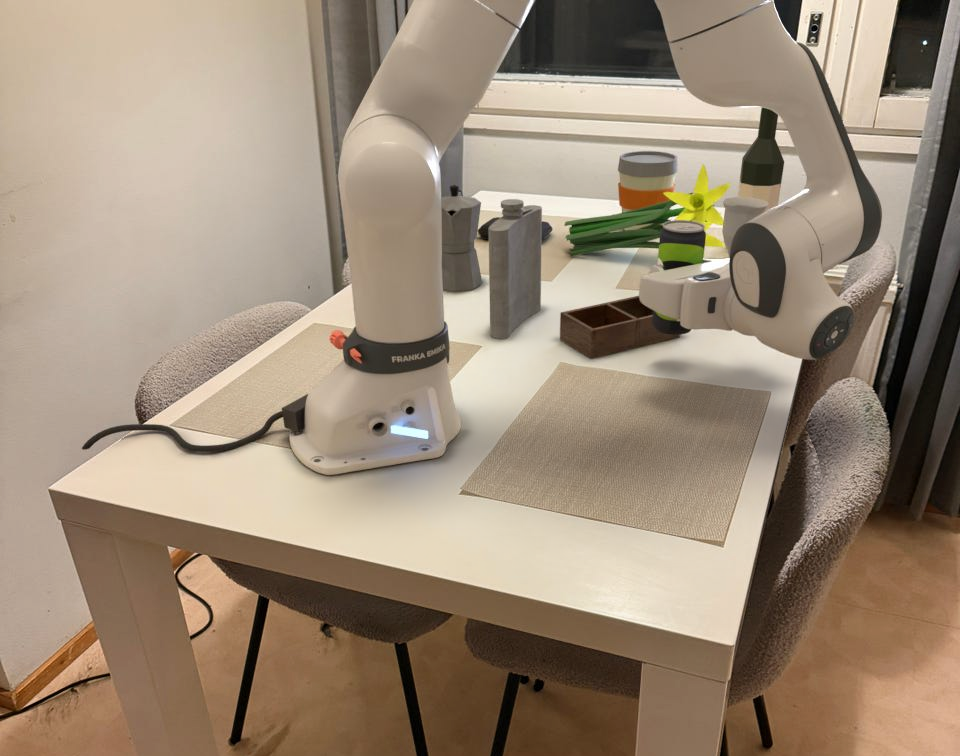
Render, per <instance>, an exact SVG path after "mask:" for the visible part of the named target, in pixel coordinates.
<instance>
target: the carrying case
mask: <svg viewBox="0 0 960 756" xmlns="http://www.w3.org/2000/svg"><path fill="white" fill-rule="evenodd" d="M501 217H502V216H498V217H497V216H495V217H492V218H491V219H489V220H488V221H486V222H485V223H483V224H482V225H480V227H478V232H477V235H479V236H480V237H481V239H483V240H489V234H488V228H489V227H490V226H491V225H492V224H493V223H494V222H495V221H496V220H498V219H499V218H501ZM551 233H553V227H552V225H551V224H550V223H549V222H548V221H544V220H542V240H541V242H542V241H543V240H545V238H547V237H548V236H549V235H550V234H551Z"/></svg>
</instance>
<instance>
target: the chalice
mask: <svg viewBox="0 0 960 756" xmlns="http://www.w3.org/2000/svg"><path fill="white" fill-rule="evenodd" d="M722 205H723V207H724V214H723V220H724V222H723V225H722V237H723V241H724V245H725V248H726V250H727V253H728V256H729V257H730V249H731V244H732V240H733V237H734V235H735V233H736V231H737V230H738V229H739V228H740V227H741V226H742V225H744V224H746V223H747V222H749V221H750V220H752V219H754V218H755V217H757V216H759V215H760V214H762V213H764V210H765V209H766V207H767V206H768V202H766V201H764V200H761V199H756V198H749V197H738V196H735V197H734V196H733V197H727V198H724V199H722Z"/></svg>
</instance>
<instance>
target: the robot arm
mask: <svg viewBox="0 0 960 756" xmlns="http://www.w3.org/2000/svg"><path fill="white" fill-rule="evenodd" d="M653 1H654V3H655V5H656V7H657V9H658V11H659V12H660V16H661V20H662V25H663V28H664V31H665V35H666V39H667V42H668V46H669V49H670V53H671V57H672V60H673V63H674V67H675V70H676V72H677V74H678V77H679V79H680V81H681V82H682V84H683V86H684V87H685V89H686V90H687V92H689V94H691V95H692V96H693V97H695V98H696V99H698V100H700V101H701V102H703V103H706V104H708V105H711V106H714V107H719V108H749V107H750V108H762V107H763V108H767V109H770V110H772V111H774V112H775V113H776V114H778V117H780V119H781V120H782V122H783V123H784V125H785V127H786V129H787V132H788V135H789V137H790V139H791V142H792V145H793V146H794V149H795V151H796V154H797V156H798V158H799V161H800V163H801V166H802V168H803V170H804V174H805V177H806V181H805V185H804V187H803V189H802V190H801V192H799V193H798V194H795V195H794V196H792V197H790V198H789V199H787V200H785V201H783V202H782V203H780V204H778V206H775V207H773V208H771V209H769V210H767V211H766V212H764V213H762V214H760V215H759V216H757V217H755V218H754V219H752V220H750V221H749V222H747V223H746V224H744V225H742V226H741V227H740V228H739V229H738V230H737V231H736V233H735V235H734V237H733V240H732V244H731V249H730V256H729V257H725V258H721V259H716V258H715V259H714V258H707V257H706V258H705V257H703V263H700V264H695V265H690V266H685V267H680V268H675V269H670V270H667V267H665V266H663V265H657V264H654V265H651V266H650V271H649V273H645V274H642V275H641V277H640V280H639V288H638V289H639V290H638V291H639V292H638V296H639V299H640V302H641V303H642V304H643V305H645V306H647V307H648V308H650V309H652V310H654V311H656V312H658V313H660V314H662V315H664V316H666V317H669V318H673V319H680V325H681V326H682V327H684V328H686V329H692V330H721V331H728V332H730V331H735V332H736V333H738V334H741V335H743V336H748V337H754V338H756V339H757V341H758V342H759V343H761V344H762V345H764V346H766V347H768V348H771V349H772V350H774V351H777V352H779V353H782V354H784V355H787V356H790V357H792V358H796V359H801V360H805V361H818V360H821V359H822V358H825V357H826V356H829V355H830V354H831V353H833V352H835V351H836V350H837V349H838V348H839V347H841V346H842V344H843V343H844V341H845V340H846V339H847V338H848V336H849V334H850V333H851V330H852V328H853V326H854V322H855V310H854V308H853V307H852V306H851V304H850V303H848V302H847V301H846V300H844V299H843V298H841V297H840V296H838V295H837V294H836V293H835V292H834V290H833V289H832V286H831V285H830V284H829V283H828V280H827V279H826V276H825V273H826V272H828V271H829V270H831V269H833V268H834V267H837V266H838V265H841V264H843V263H845V262H848V261H850V260H852V259H855V258H856V257H859V256H862V255H863V254H865V253H867V252H868V251H869V250H871V249H872V248H873V247H874V245H875V244H876V242H877V240H878V237H879V235H880V232H881V228H882V221H883V207H882V204H881V201H880V198H879V196H878V194H877V191H876V189H875V188H874V186H873V185H872V183H871V182H870V181H869V179H868V177H867V176H866V174H865V173H864V171H863V169H862V167H861V165H860V162H859V160H858V158H857V155H856V152H855V150H854V147H853V144H852V142H851V140H850V139H851V138H850V137H849V134H848V132H847V130H846V127H845V124H844V122H843V119H842V117H841V114H840V111H839V109H838V106H837V103H836V100H835V99H834V96H833V93H832V90H831V88H830V85H829V83H828V81H827V78H826V76H825V74H824V72H823V70H822V67H821V66H820V63H819V61H818V60H817V58H816V56H815V55H814V54H813V52H812V50H811V49H810V48H809V46H807V45H805V44H804V43H802V42H800V41H797V40H794V38H793V37H792V36H791V35H790V33H789V32H788V31H787V29H786V28H785V26H784V24H783V23H782V21H781V18H780V16H779V13H778V11H777V8H776V5H775V0H653ZM535 2H536V0H413V1H412V4H411V5H410V7H409V9H408V12H407V13H406V15H405V17H404V19H403V21H402V24H401V25H400V28H399V29H398V31H397V34H396V36H395V37H394V40H393V41H392V44H391V45H390V48H389V49H388V51H387V53H386V55H385V56H384V58H383V60H382V62H381V64H380V66H379V68H378V69H377V71H376V74H375V76H374V77H373V79H372V81H371V82H370V84H369V87H368V88H367V91H366V92H365V95H364V96H363V98H362V100H361V102H360V104H359V105H358V108H357V109H356V112H355V114H354V116H353V118H352V120H351V121H350V124H349V126H348V128H347V129H346V132H345V134H344V137H343V140H342V145H341V152H340V155H339V164H338V172H337V177H338V178H337V179H338V188H339V189H338V190H339V196H340V197H339V198H340V205H341V213H342V214H341V215H342V221H343V229H344V230H343V231H344V238H345V244H346V252H347V258H348V265H349V273H350V284H351V292H352V293H351V294H352V303H353V313H354V325H355V326H354V327H353V329H352V331H351V332H350V334H349V335H346V334H345V333H344V332H343V331H342V330H340V329H335V330H333V331H331V333H330V335H329V338H328V339H329V343H330V344H331V345H332V346H334V348H335V349H337V350H342V354H343V355H342V356H343V359H342V360H341V361H340V362H339V363H338V364H337V365H336V366H335V367H334V368H333V369H332V370H331V371H329V373H328V374H327V375H326V376H325V377H323V379H321V380H320V381H319V382H318V383H316V385H315V386H313V387H312V388H311V389H310V391H308V393H307V394H305V395H303V396H301V397H299V398H298V399H296V400H294V401H291V402H290V403H288V404H287V405H284V406H283V407H282V408H281V410H280V411H278V412H276V413H274V414H272V415H271V416H270V417H268V419H267V420H266V422H265V423H264V425H263V426H262V428H260V429H259V430H257V431H255V432H253V433H252V434H250V435H248V436H246V437H243V438H242V439H239V440H236V441H232V442H228V443H223V444H221V443H220V444H213V445H212V444H211V445H199V444H192V443H190V442H187V441H186V440H185V439H184V438H183V437H182V436H181V435H180V434H179V432H178V431H176V430H175V429H173V428H172V427H170V426H167V425H163V424H153V423H151V424H149V423H135V424H134V423H133V424H131V423H130V424H121V425H116V426H112V427H108V428H105V429H104V430H101V431H100V432H97V433H95V434H94V435H92V436H91V437H90V438H89V439H87V441H86V442H85V443H84V444H83V446H82V447H81V450H84V451H85V450H89V449H90V448H92V446H94V444H96V443H97V442H98V441H99V440H101V439H104V438H105V437H108V436H110V435H113V434H116V433H122V432H131V431H133V432H134V431H135V432H136V431H148V432H149V431H151V432H153V431H154V432H155V431H156V432H164V433H166V434H168V435H169V436H171V438H173V439H174V440H175V442H176V443H177V444H178V445H179V446H180V447H181V448H183V449H185V450H187V451H191V452H195V453H196V452H197V453H214V452H217V453H218V452H225V451H229V450H233V449H236V448H240V447H243V446H245V445H247V444H250V443H252V442H254V441H255V440H258V439H259V438H261V437H263V436H264V435H266V434H267V433H268V432H269V431H270V429H271V427H272V426H273V425H274V423H275V422H277V421H278V420H281V419H282V420H283V426H284V428H285V429H287V430H289V433H288V435H289V445H290V448H291V450H292V453H294V455H295V457H296V458H297V459H298V461H300V462H301V463H302V464H303V465H305V466H306V467H307V469H310V470H312V471H314V472H315V473H318V474H322V475H324V476H325V475H326V476H332V475H333V476H334V475H339V474H346V473H352V472H358V471H364V470H368V469H369V470H370V469H376V468H383V467H388V466H393V465H399V464H407V463H412V462H418V461H424V460H430V459H437V458H440V457H442V456H444V454H445V452H446V450H447V445H448V444H449V443H450V442H451V441H452V440H453V439H454V438H456V436H457V435H459V432H460V431H461V429H462V420H461V418H460V415H459V411H458V409H457V407H456V403H455V399H454V396H453V390H452V386H451V385H452V384H451V380H450V373H449V366H448V365H449V363H450V337H449V326H448V324H447V322H446V321H445V309H444V308H445V307H444V290H443V282H442V213H441V197H442V178H441V177H442V174H441V167H440V162H441V160H442V158H443V156H444V154H445V152H446V151H447V150H448V147H449V146H450V145H451V143H452V141H453V140H454V138H455V137H456V135H457V134H458V132H459V130H460V129H461V128H462V126H463V125H464V123H465V122H466V120H467V119H468V117H469V116H470V115H471V113H472V112H473V110H474V109H475V108H476V107H477V105H478V104H479V103H480V102H481V101H482V99H483V97H484V96H485V94H486V92H487V90H488V88H489V87H490V86H491V83H492V81H493V80H494V78H495V75H496V74H497V72H498V70H499V68H500V66H501V65H502V63H503V62H504V59H505V58H506V55H507V53H508V52H509V50H510V48H511V47H512V45H513V43H514V41H515V39H516V38H517V35H518V34H519V32H520V29H521V28H522V26H523V24H524V23H525V21H526V18H527V17H528V15H529V13H530V11H531V9H532V8H533V6H534V4H535ZM515 26H516V27H515Z"/></svg>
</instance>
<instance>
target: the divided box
mask: <svg viewBox="0 0 960 756" xmlns="http://www.w3.org/2000/svg"><path fill="white" fill-rule="evenodd" d="M559 314H560V316H559V317H560V319H559V340H560V341H561V342H563V343H564V344H565V345H568V346H569V347H571V348H572V349H574V350H576V351H577V352H579V353H581V354H582V355H584V356H585V357H587V358H588V359H590V360H591V359H595V358H600V357H604V356H607V355H612V354H616V353H619V352H624V351H625V352H626V351H628V350H632V349H637V348H641V347H645V346H648V345H653V344H657V343H660V342H666V341H669V340H673V339H677V338H680V337H681V335H670V334H665V333H661V332H659V331H657V330H656V329H655V327H654V326H653V324H652V315H653V310H652V309H650V308H648V307H647V306H645V305H643V304H642V303H641V302H640V299H639V295H635V296H630V297H625V298H621V299H617V300H612V301H607V302H603V303H598V304H593V305H588V306H584V307H579V308H575V309H570V310H565V311H562V312H560V313H559Z"/></svg>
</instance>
